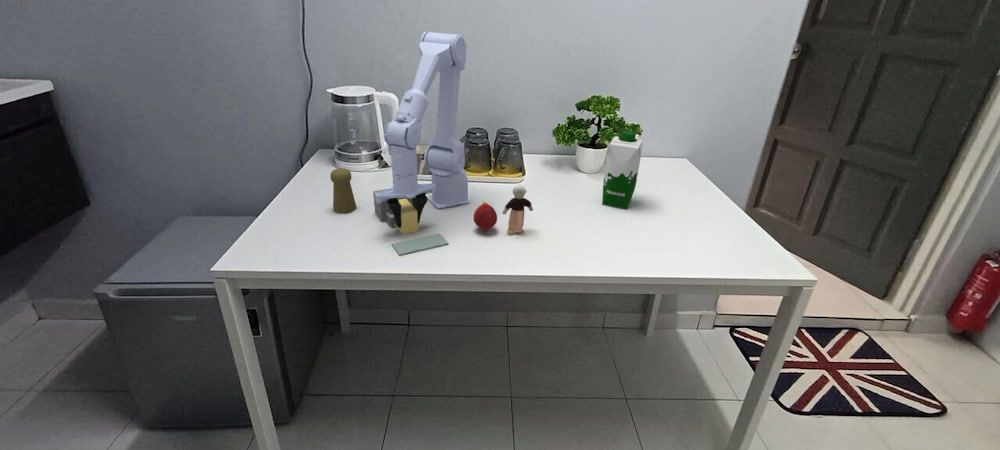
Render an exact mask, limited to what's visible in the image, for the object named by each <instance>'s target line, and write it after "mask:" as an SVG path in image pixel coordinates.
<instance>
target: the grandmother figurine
mask: <svg viewBox="0 0 1000 450" xmlns="http://www.w3.org/2000/svg"><path fill="white" fill-rule="evenodd" d="M526 193H527V189H526V187H525V186H523V185H522V184H516V185H514V186H513V187H512V194H513V196H514V197H512V198H511V199H510V200H509V201H508V202H507V203H506V204H505V206H504V208H503V211H502V214H503V215H506V214H507V213H508V211H509V210H510V209H511V210H510V214H509V220H508V225H507V227H508V229H507V231H506V234H507V235H509V236H512V235H515V233H517V234H518V235H520V234H525V230H524V229H523V228H524V223H525V207H526V208H527V209H528V210H529V211H530V212H532V211H533V210H534V208H533V205H532V202H531V201H530V200H528V199H527V198H525V195H526Z"/></svg>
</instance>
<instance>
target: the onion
mask: <svg viewBox="0 0 1000 450" xmlns="http://www.w3.org/2000/svg"><path fill="white" fill-rule="evenodd" d="M497 222H498V214H497V212H496V209H495V208H494V207H493V206H492V205H490V204H489V203H487V201H486V200H483V202H482V204H481V205H479V206H478V207H477V208H476V209H475V210H474V213H473V223H474V224H475V225H476V227H478V228H479V229H480V230H481V231H484V232H486V231H488V230H490V229H492V228H493V227H495V226H496V224H497Z"/></svg>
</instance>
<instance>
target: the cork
mask: <svg viewBox="0 0 1000 450" xmlns="http://www.w3.org/2000/svg"><path fill="white" fill-rule="evenodd" d="M329 179H330V181H331V182H332V183H333V188H332V189H333V194H332V195H333V199H332V200H333V201H332V202H333V203H332V205H333V206H332V210H333V212H334V213H336V214H340V215H341V214H350V213H353V212H355V211H356V210H357V209H358V208H357V203H356V200H355V194H354V192H353V188H352V185H351V180H352V173H351V170H349V169H347V168H342V167H341V168H335V169H333V170H332V171H331V172H330V178H329Z"/></svg>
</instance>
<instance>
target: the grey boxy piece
mask: <svg viewBox="0 0 1000 450" xmlns="http://www.w3.org/2000/svg"><path fill="white" fill-rule="evenodd" d="M387 189H388V188H387ZM387 189H379V190H374V191H373V194H372V195H373V204H374V212H375V214H376V216H377V217H378V218H379V220H380V221H381V222H387V223H386V224H388V225H389V227H390V228H395V226H396V225H395V220H394V215H392V213H391V209H390V207H389V205H388V203H387V202H386V201H383V202H382V203H379V204H378V203H377V202H376V201H375V193H378V192H381V191H384V190H387ZM400 199H405V198H400ZM400 199H398V200H400ZM406 199H407V198H406ZM407 200H408V201H409V202H410V203H411V205H412V206H413V202H412V198H410V199H407Z"/></svg>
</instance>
